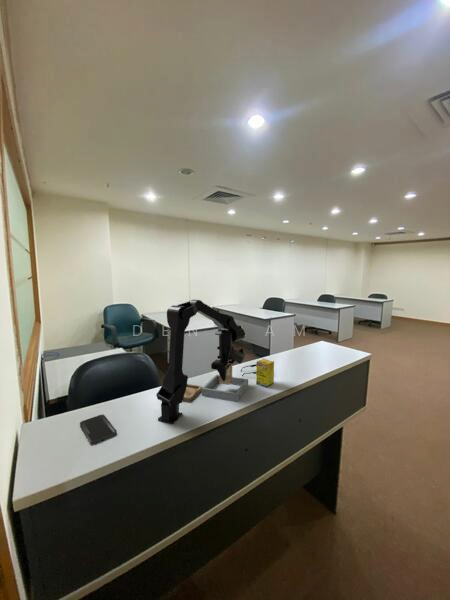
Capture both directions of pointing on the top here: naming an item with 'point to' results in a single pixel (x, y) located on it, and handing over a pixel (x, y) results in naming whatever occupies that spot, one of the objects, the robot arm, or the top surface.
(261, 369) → the supplement box
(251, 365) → the sunglasses
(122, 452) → the top surface
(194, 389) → the walnut tray
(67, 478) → the top surface
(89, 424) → the phone
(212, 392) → the slate bin
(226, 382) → the maple block
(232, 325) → the robot arm
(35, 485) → the top surface
